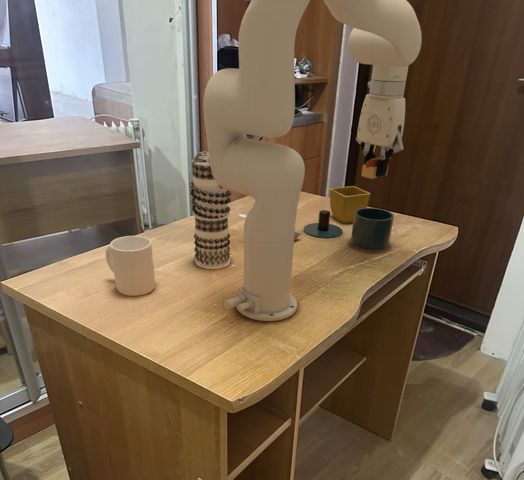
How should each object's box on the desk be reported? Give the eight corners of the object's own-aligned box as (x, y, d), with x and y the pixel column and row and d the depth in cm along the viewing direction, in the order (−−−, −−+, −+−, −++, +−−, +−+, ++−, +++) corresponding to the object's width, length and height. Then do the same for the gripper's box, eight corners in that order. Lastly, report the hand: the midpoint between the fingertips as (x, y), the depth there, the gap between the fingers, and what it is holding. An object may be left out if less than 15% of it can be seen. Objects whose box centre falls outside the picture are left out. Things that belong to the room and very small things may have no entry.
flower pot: (325, 218, 148) (329, 188, 143) (350, 214, 151) (354, 185, 146) (341, 227, 142) (345, 196, 136) (366, 224, 145) (371, 193, 140)
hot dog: (370, 179, 117) (373, 161, 114) (360, 176, 119) (362, 158, 116) (387, 175, 120) (390, 157, 118) (377, 172, 122) (379, 155, 120)
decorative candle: (222, 251, 124) (221, 147, 110) (237, 265, 118) (238, 156, 104) (188, 257, 121) (182, 150, 107) (202, 272, 114) (197, 160, 100)
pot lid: (322, 243, 131) (325, 221, 128) (295, 231, 138) (297, 210, 134) (350, 235, 137) (352, 213, 134) (322, 223, 144) (324, 203, 140)
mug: (96, 285, 107) (88, 240, 101) (124, 272, 113) (118, 229, 107) (136, 300, 102) (130, 254, 96) (163, 286, 108) (159, 241, 102)
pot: (371, 255, 125) (377, 223, 121) (342, 243, 132) (346, 212, 127) (395, 246, 131) (402, 215, 126) (367, 235, 137) (371, 205, 132)
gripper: (348, 86, 112) (338, 169, 122) (407, 94, 102) (391, 184, 112) (369, 84, 116) (358, 165, 126) (428, 92, 106) (411, 179, 116)
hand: (374, 173), depth 119 cm, fingers closed on hot dog, 3 cm apart
